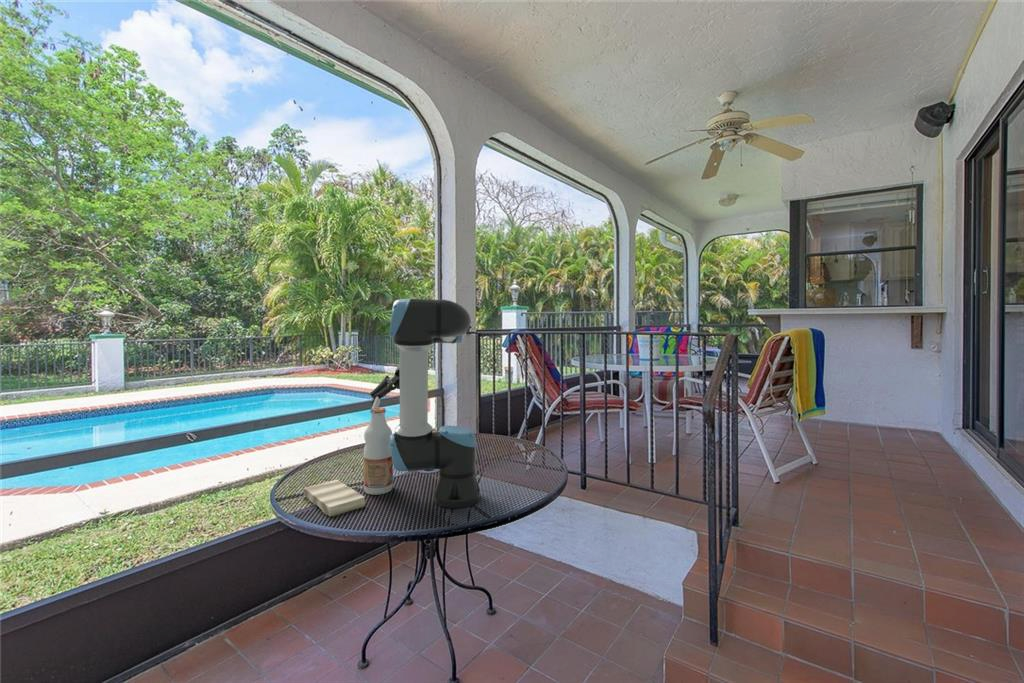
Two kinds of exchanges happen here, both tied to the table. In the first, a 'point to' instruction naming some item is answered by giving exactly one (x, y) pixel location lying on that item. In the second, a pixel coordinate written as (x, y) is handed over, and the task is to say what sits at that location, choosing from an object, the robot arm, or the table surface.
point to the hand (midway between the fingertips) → (390, 414)
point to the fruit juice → (378, 455)
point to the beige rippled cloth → (334, 497)
